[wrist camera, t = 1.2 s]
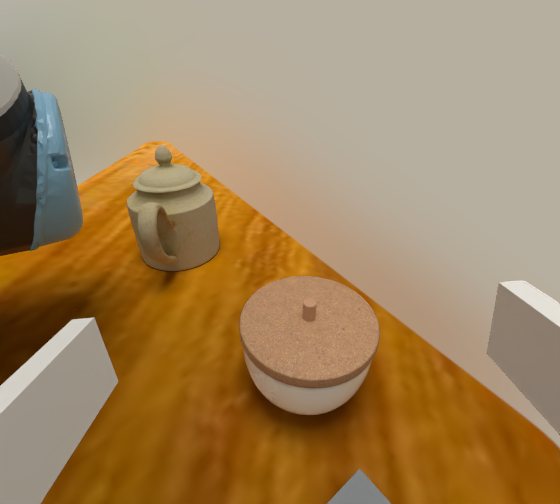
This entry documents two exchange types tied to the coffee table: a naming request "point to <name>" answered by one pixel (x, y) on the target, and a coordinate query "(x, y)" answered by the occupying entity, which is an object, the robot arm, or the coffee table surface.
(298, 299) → the lidded jar
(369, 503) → the slate mat
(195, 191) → the beige teapot
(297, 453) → the coffee table surface
